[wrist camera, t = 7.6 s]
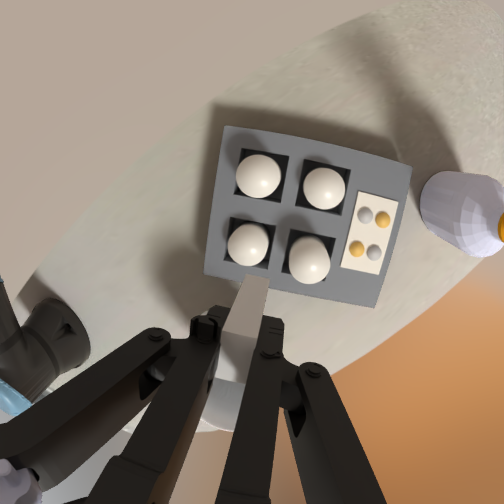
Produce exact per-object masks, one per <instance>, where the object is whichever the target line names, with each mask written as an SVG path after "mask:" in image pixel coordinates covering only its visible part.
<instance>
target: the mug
mask: <svg viewBox="0 0 504 504" xmlns="http://www.w3.org/2000/svg"><path fill="white" fill-rule="evenodd" d="M208 311H209V310H207V311H205V312H203V313H202V314H201V315H207V312H208ZM215 374H216V373H215ZM245 385H246V384H241V383H237V382H232V381H228V380H224V379H220V378H216V377H215V375H214V380H213V386H212V388H211V391H210V394H209V396H208V399H207V402H206V404H205V407H204V410H203V413H202V415H201V418H200V419H201V420H202V421H204V422H205V423H207V424H209V425H210V426H213V427H215V428H218V429H221V430H225V431H232V432H234V429H235V425H236V421H237V417H238V413H239V409H240V405H241V401H242V397H243V393H244V389H245Z"/></svg>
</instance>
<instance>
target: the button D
mask: <svg viewBox="0 0 504 504" xmlns="http://www.w3.org/2000/svg"><path fill="white" fill-rule="evenodd" d="M303 191H304V194H305V196H306V198H307V200H308V201H309V202H310V203H311V204H312V205H313V206H315V207H316V208H319V209H331V208H333V207H335V206H337V205H338V204H339V203H340V202H341V201H342V199H343V197H344V194H345V184H344V181H343V179H342V177H341V176H340V175H339V174H338V173H337V172H336V171H334V170H332V169H328V168H315V169H312V170H311V171H309V172H308V173H307V174H306V176H305V177H304V180H303Z"/></svg>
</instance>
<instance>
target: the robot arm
mask: <svg viewBox="0 0 504 504" xmlns="http://www.w3.org/2000/svg"><path fill="white" fill-rule="evenodd" d="M3 282H4V281H3V280H2V279H1V276H0V409H1V410H3V411H4V412H6V413H8V414H9V415H12V416H16V417H15V418H13V419H12V420H10V421H9V422H7V423H3V424H0V504H41V503H42V501H41V499H42V492H45V491H47V490H49V489H51V488H53V487H55V486H56V485H58V484H59V483H60V482H62V481H63V480H64V479H66V478H67V477H68V476H69V475H70V474H72V473H73V472H74V471H75V470H76V469H77V468H78V467H80V466H81V465H82V464H83V463H84V462H85V461H86V460H88V459H89V458H90V457H91V456H92V455H93V454H94V453H95V452H97V451H98V450H99V449H100V448H101V447H102V446H103V445H104V444H105V443H107V442H108V441H109V440H110V439H111V438H112V437H113V436H114V435H115V434H116V433H117V432H118V431H120V430H121V429H122V428H123V427H124V426H125V425H126V424H127V423H128V422H129V421H131V420H132V419H133V418H134V417H135V416H136V415H137V414H138V413H139V412H140V411H141V410H142V409H143V408H144V407H145V406H146V405H148V404H149V403H150V402H151V403H150V404H149V406H148V408H147V410H146V411H145V413H144V415H143V417H142V418H141V420H140V422H139V424H138V425H137V427H136V429H135V431H134V432H133V434H132V436H131V438H130V439H129V441H128V443H127V445H126V446H125V448H124V450H123V452H122V453H121V454H120V455H119V456H113V457H112V458H111V459H110V460H109V462H108V463H107V465H106V466H105V468H104V470H103V472H102V473H101V475H100V477H99V478H98V480H97V482H96V483H95V485H94V487H93V489H92V490H91V492H90V494H89V496H88V497H84V498H80V499H77V500H74V501H70V502H67V503H64V504H169V500H170V498H171V495H172V492H173V490H174V487H175V484H176V482H177V479H178V476H179V474H180V471H181V469H182V466H183V463H184V460H185V458H186V455H187V453H188V450H189V447H190V445H191V442H192V439H193V437H194V434H195V431H196V429H197V426H198V423H199V421H200V418H201V415H202V413H203V410H204V407H205V404H206V402H207V399H208V396H209V394H210V391H211V388H212V386H213V380H214V375H215V377H216V378H220V379H224V380H228V381H232V382H237V383H241V384H246V385H245V389H244V393H243V397H242V401H241V405H240V409H239V413H238V417H237V421H236V425H235V429H234V433H233V437H232V441H231V445H230V449H229V452H228V456H227V460H226V464H225V468H224V472H223V475H222V479H221V483H220V486H219V490H218V493H217V497H216V501H215V504H271V499H270V498H269V489H270V482H271V474H272V467H273V459H274V450H275V441H276V433H277V423H278V414H279V407H282V408H284V415H285V419H286V424H287V427H288V432H289V435H290V440H291V444H292V448H293V452H294V456H295V460H296V464H297V468H298V472H299V476H300V479H301V484H302V488H303V492H304V496H305V499H306V503H307V504H387V503H386V500H385V498H384V496H383V493H382V491H381V489H380V486H379V484H378V482H377V479H376V477H375V475H374V472H373V470H372V468H371V466H370V463H369V461H368V459H367V456H366V454H365V452H364V450H363V447H362V445H361V443H360V441H359V439H358V436H357V434H356V432H355V429H354V427H353V425H352V423H351V420H350V418H349V416H348V414H347V412H346V409H345V407H344V405H343V403H342V401H341V398H340V396H339V394H338V392H337V390H336V387H335V385H334V383H333V381H332V379H331V377H330V374H329V372H328V371H327V369H326V368H325V367H323V366H322V365H320V364H318V363H314V362H305V363H303V364H301V365H300V367H299V366H296V365H294V364H292V363H290V362H288V361H287V360H286V359H285V358H284V355H283V352H282V349H283V337H284V336H283V335H284V323H283V321H282V320H281V319H280V318H275V317H270V316H265V315H263V311H264V306H265V301H266V297H267V292H268V287H269V282H270V279H268V278H263V277H258V276H254V275H249V274H246V275H245V278H244V280H243V282H242V285H241V287H240V289H239V292H238V294H237V296H236V299H235V301H234V303H233V306H232V308H231V309H230V308H226V307H222V306H217V305H215V306H213V307H212V308H210V309H209V311H208V312H207V315H199V316H196V317H193V318H192V319H191V324H190V335H189V337H188V338H186V339H173V338H171V335H170V333H169V332H168V331H166V330H165V329H162V328H155V327H153V328H148V329H146V330H144V331H142V332H141V333H139V334H138V335H136V336H135V337H133V338H132V339H130V340H129V341H127V342H126V343H125V344H123V345H122V346H120V347H119V348H117V349H116V350H114V351H113V352H111V353H110V354H108V355H107V356H105V357H104V358H102V359H101V360H99V361H98V362H96V363H95V364H93V365H92V366H90V367H89V368H88V369H86V370H85V371H83V372H82V373H80V374H79V375H77V376H76V377H74V378H73V379H71V380H70V381H68V382H67V383H65V384H64V385H62V386H61V387H59V388H58V389H56V390H55V391H53V392H52V393H50V394H49V395H47V396H46V397H44V398H43V399H41V400H40V401H38V402H37V403H35V404H34V405H33V406H32V404H33V403H34V402H35V400H36V399H37V398H38V397H39V396H40V395H41V394H42V393H43V392H44V391H45V390H46V389H47V388H48V387H49V385H50V384H51V383H52V382H53V381H54V380H55V379H56V378H57V377H58V376H59V375H60V374H63V373H65V372H67V371H69V370H71V369H73V368H77V367H79V366H81V365H82V364H83V363H84V362H85V361H86V360H87V359H88V358H89V355H90V342H89V338H88V335H87V333H86V330H85V328H84V327H83V325H82V323H81V322H80V320H79V319H78V317H77V316H76V315H75V314H74V313H73V312H72V310H71V309H69V308H68V307H67V306H66V305H65V304H63V303H62V302H60V301H58V300H56V299H51V298H48V299H45V300H43V301H42V302H40V303H39V304H37V305H36V306H35V307H34V309H33V311H32V314H31V315H30V316H29V317H28V319H27V320H26V322H25V323H24V325H23V326H21V327H20V325H19V323H18V321H17V318H16V316H15V314H14V311H13V309H12V306H11V303H10V301H9V298H8V295H7V293H6V290H5V287H4V284H3ZM215 373H216V374H215ZM29 407H30V408H29Z"/></svg>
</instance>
